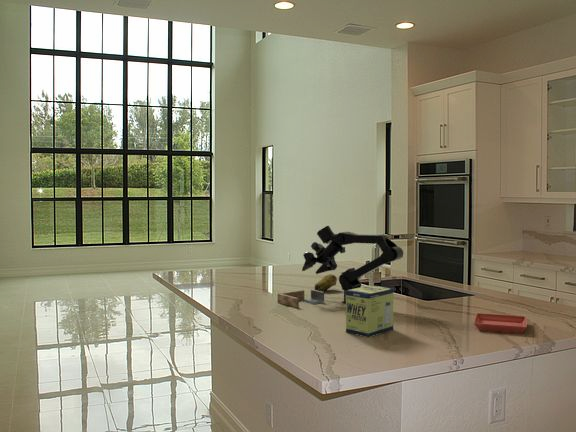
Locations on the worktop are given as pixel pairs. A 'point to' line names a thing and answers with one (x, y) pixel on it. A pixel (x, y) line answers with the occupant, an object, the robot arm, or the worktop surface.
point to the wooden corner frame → (291, 298)
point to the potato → (326, 283)
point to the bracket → (315, 297)
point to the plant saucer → (500, 322)
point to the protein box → (369, 310)
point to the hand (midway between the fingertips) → (309, 271)
